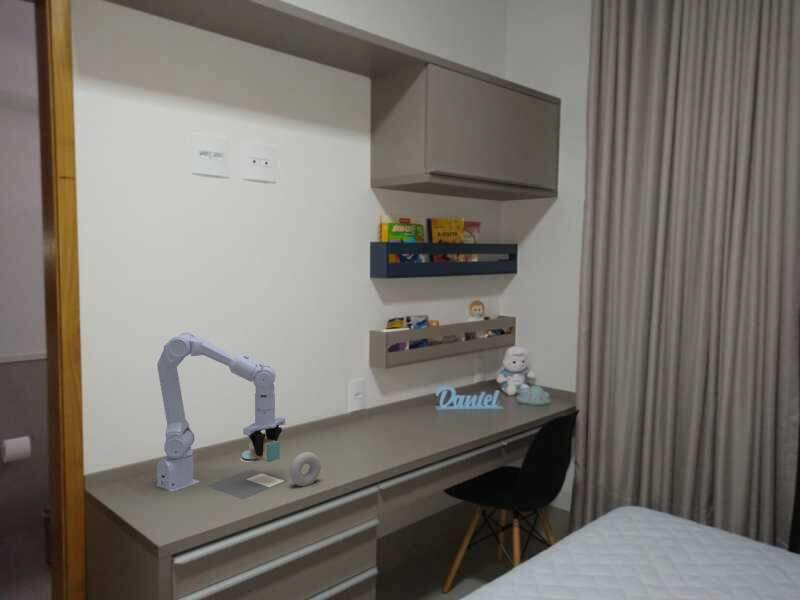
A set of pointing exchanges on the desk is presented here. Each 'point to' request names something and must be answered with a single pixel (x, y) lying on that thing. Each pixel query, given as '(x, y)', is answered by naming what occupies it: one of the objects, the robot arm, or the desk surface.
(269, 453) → the card box
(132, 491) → the desk surface
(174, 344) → the robot arm
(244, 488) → the mat
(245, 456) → the pacifier
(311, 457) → the donut
